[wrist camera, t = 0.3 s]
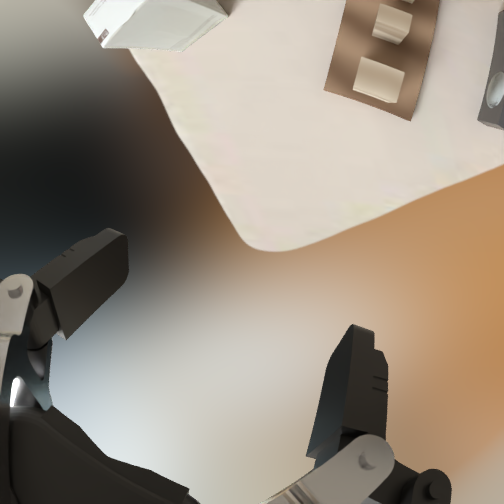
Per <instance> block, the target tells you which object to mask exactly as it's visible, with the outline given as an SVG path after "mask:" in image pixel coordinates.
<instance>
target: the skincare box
mask: <svg viewBox="0 0 504 504" xmlns="http://www.w3.org/2000/svg"><path fill="white" fill-rule="evenodd" d="M83 16H84V18H85V20H86V22H87V23H88V25H89V26H90V28H91V30H92V31H93V33H94V34H95V36H96V38H97V39H98V40H99V42H100V44H101V45H102V47H103V48H139V49H156V50H169V51H179V52H183V51H184V50H185V49H186V48H188V47H189V46H190V45H191V44H193V43H194V42H195V41H196V40H198V39H199V38H200V37H202V36H203V35H204V34H205V33H207V32H208V31H209V30H211V29H212V28H213V27H215V26H216V25H217V24H218V23H220V22H221V21H223V20H224V19H226V18H227V17H228V15H227V13H226V12H225V11H224V10H223V8H222V7H221V6H220V4H219V3H218V2H217V1H216V0H95V2H94V3H93V4H92V5H91V6H90V8H89V9H88V10H87V11H86V12H85V14H84V15H83Z"/></svg>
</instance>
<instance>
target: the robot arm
mask: <svg viewBox="0 0 504 504" xmlns="http://www.w3.org/2000/svg"><path fill="white" fill-rule="evenodd" d="M128 273H129V259H128V238H127V236H126V235H124V234H122V233H120V232H117V231H115V230H112V229H110V228H107V229H105V230H103V231H102V232H100V233H99V234H97V235H96V236H92V237H89V238H86V239H84V240H81V241H79V242H78V243H76V244H75V245H73V246H72V247H70V249H69V250H68V249H67V250H66V251H65V252H63V253H62V255H61V256H60V255H59V256H58V257H56V258H55V259H54V260H52V261H51V262H49V264H47V265H46V266H44V267H43V268H41V269H40V270H39V271H37V272H36V273H35V274H34V275H32V276H31V277H29V276H27V275H24V274H15V275H12V276H9V277H7V278H6V279H4V280H2V279H0V504H200V503H199V502H198V501H197V500H196V499H194V498H193V497H192V496H190V495H189V494H188V493H189V488H187V487H184V486H182V485H180V484H178V483H176V482H173V481H171V480H169V479H167V478H165V477H163V476H161V475H159V474H157V473H155V472H153V471H151V470H148V469H145V468H141V467H138V466H134V465H131V464H128V463H125V462H121V461H118V460H115V459H112V458H110V457H108V456H106V455H105V454H104V453H103V452H102V451H101V450H100V449H99V448H98V447H97V446H96V444H95V443H94V442H93V441H92V440H91V439H90V438H89V437H88V436H87V434H86V433H85V432H84V431H83V430H82V429H81V428H80V426H78V425H77V424H76V423H74V422H73V421H72V420H70V419H69V418H67V417H66V416H65V415H64V414H62V413H61V412H60V411H59V410H57V409H56V408H55V407H54V406H53V404H52V399H51V395H50V391H49V376H50V363H51V354H52V345H53V341H52V337H53V336H54V334H56V333H57V334H58V335H59V336H61V337H62V338H63V339H65V340H67V339H68V338H69V337H70V336H71V335H72V334H73V333H74V332H75V331H76V330H77V329H78V328H79V327H80V326H81V325H82V324H83V323H84V322H85V321H86V320H87V319H88V318H89V317H90V316H91V315H92V314H93V313H94V312H95V311H96V310H97V309H98V308H99V307H100V306H101V305H102V304H103V303H104V302H105V301H106V300H107V299H108V298H109V297H111V295H113V294H114V293H115V292H116V291H117V290H118V289H119V288H120V287H121V286H122V285H123V284H124V283H125V281H126V279H127V276H128ZM387 381H388V364H387V362H386V359H385V357H384V354H383V352H382V351H379V350H375V349H374V332H373V331H371V330H368V329H365V328H362V327H359V326H357V325H353V324H352V325H351V326H350V327H349V328H348V330H347V331H346V333H345V335H344V336H343V338H342V339H341V341H340V343H339V344H338V346H337V347H336V349H335V350H334V352H333V353H332V355H331V357H330V360H329V362H328V364H327V368H326V372H325V376H324V381H323V386H322V391H321V396H320V400H319V405H318V409H317V413H316V418H315V422H314V426H313V430H312V434H311V438H310V442H309V446H308V450H307V454H306V456H307V457H310V458H314V459H316V461H315V465H314V469H313V470H311V471H310V472H308V473H307V474H305V475H304V476H303V477H301V478H300V479H298V480H297V481H295V482H294V483H292V484H291V485H289V486H288V487H286V488H285V489H283V490H281V491H280V492H278V493H276V494H275V495H273V496H271V497H270V498H268V499H266V500H265V501H263V502H261V503H260V504H450V502H451V491H452V488H451V483H450V480H449V478H448V477H447V475H445V474H444V473H443V472H442V471H440V470H438V469H429V470H426V471H424V472H422V473H420V474H419V473H417V472H415V471H414V470H412V469H410V468H408V467H406V466H404V465H402V464H401V463H399V462H398V461H396V460H395V459H394V453H393V450H392V448H391V447H390V445H389V444H388V443H387V442H386V422H387V401H388V400H387V399H388V394H387V392H388V382H387Z"/></svg>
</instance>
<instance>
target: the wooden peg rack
mask: <svg viewBox="0 0 504 504" xmlns="http://www.w3.org/2000/svg"><path fill="white" fill-rule="evenodd" d="M439 1H440V0H346V4H345V9H344V13H343V17H342V21H341V25H340V29H339V33H338V37H337V41H336V45H335V49H334V53H333V56H332V60H331V64H330V68H329V72H328V76H327V79H326V83H325V87H324V90H325V91H328V92H331V93H335V94H338V95H341V96H344V97H347V98H350V99H353V100H356V101H359V102H362V103H365V104H368V105H370V106H373V107H376V108H378V109H381V110H384V111H386V112H389V113H391V114H394V115H396V116H399V117H401V118H403V119H406V120H408V121H411V118H412V115H413V112H414V109H415V105H416V102H417V98H418V95H419V91H420V88H421V84H422V80H423V76H424V73H425V69H426V65H427V61H428V56H429V52H430V48H431V43H432V39H433V34H434V29H435V24H436V19H437V13H438V8H439Z"/></svg>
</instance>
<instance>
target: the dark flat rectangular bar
mask: <svg viewBox="0 0 504 504" xmlns="http://www.w3.org/2000/svg"><path fill="white" fill-rule="evenodd" d="M477 120H478V121H480V122H481V123H483V124H485V125H486V126H490V127H494V128H497V129H501V130H504V11H502V12H500V13H499V15H498V24H497V32H496V39H495V45H494V51H493V57H492V62H491V67H490V72H489V77H488V81H487V85H486V90H485V94H484V97H483V101H482V105H481V109H480V112H479V116H478V119H477Z"/></svg>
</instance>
